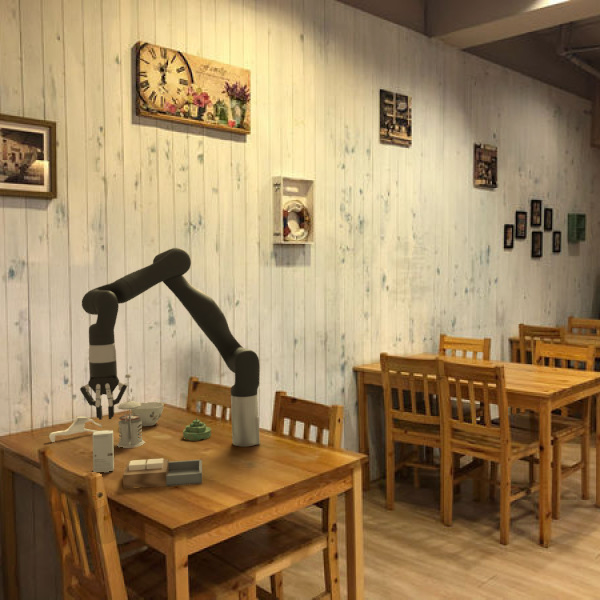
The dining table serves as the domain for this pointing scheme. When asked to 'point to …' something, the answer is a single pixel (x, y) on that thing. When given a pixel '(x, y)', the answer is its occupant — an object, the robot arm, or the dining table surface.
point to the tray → (184, 473)
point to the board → (146, 476)
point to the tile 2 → (155, 463)
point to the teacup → (149, 412)
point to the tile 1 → (137, 465)
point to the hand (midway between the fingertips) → (105, 418)
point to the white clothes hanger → (74, 427)
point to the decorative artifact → (196, 431)
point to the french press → (129, 425)
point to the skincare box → (103, 451)
